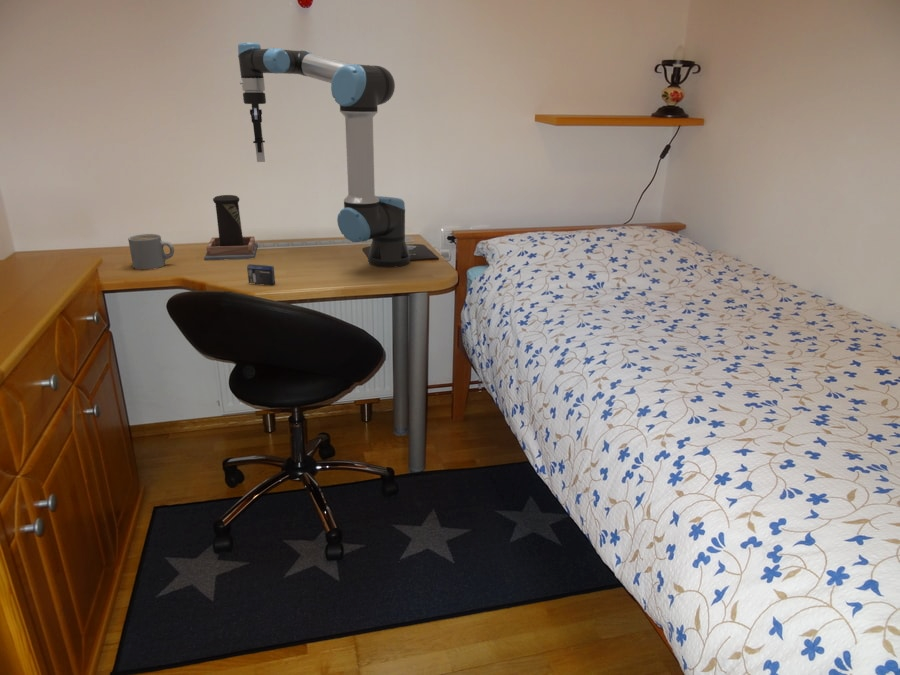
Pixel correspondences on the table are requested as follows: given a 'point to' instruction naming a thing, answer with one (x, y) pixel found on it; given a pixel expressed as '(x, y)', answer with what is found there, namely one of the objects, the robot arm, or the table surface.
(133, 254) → the coffee mug
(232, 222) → the container
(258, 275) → the mini dv tape
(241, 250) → the collar plate
